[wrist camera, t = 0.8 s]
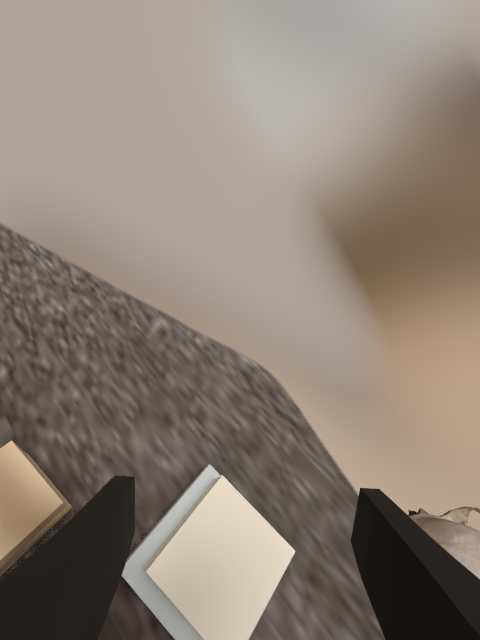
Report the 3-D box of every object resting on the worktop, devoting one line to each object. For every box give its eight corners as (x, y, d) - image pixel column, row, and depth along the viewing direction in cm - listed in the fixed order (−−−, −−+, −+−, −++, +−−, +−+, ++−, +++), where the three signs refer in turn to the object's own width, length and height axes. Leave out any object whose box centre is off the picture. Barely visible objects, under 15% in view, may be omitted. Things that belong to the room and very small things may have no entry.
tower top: (220, 658, 18) (231, 671, 17) (142, 568, 19) (145, 571, 18) (280, 549, 22) (295, 551, 20) (213, 479, 23) (222, 475, 21)
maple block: (0, 575, 18) (-31, 588, 14) (-45, 515, 19) (-88, 511, 15) (73, 507, 21) (63, 502, 17) (30, 456, 22) (11, 440, 18)
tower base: (205, 673, 19) (214, 687, 18) (117, 567, 21) (118, 571, 19) (277, 548, 24) (290, 549, 22) (203, 468, 25) (209, 464, 24)
